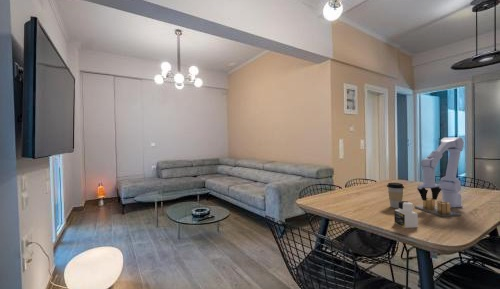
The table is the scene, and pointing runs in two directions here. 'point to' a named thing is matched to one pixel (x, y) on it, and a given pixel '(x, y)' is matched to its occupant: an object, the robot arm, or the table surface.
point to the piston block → (440, 209)
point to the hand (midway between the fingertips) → (429, 199)
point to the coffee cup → (395, 194)
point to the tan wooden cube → (429, 203)
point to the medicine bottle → (406, 215)
